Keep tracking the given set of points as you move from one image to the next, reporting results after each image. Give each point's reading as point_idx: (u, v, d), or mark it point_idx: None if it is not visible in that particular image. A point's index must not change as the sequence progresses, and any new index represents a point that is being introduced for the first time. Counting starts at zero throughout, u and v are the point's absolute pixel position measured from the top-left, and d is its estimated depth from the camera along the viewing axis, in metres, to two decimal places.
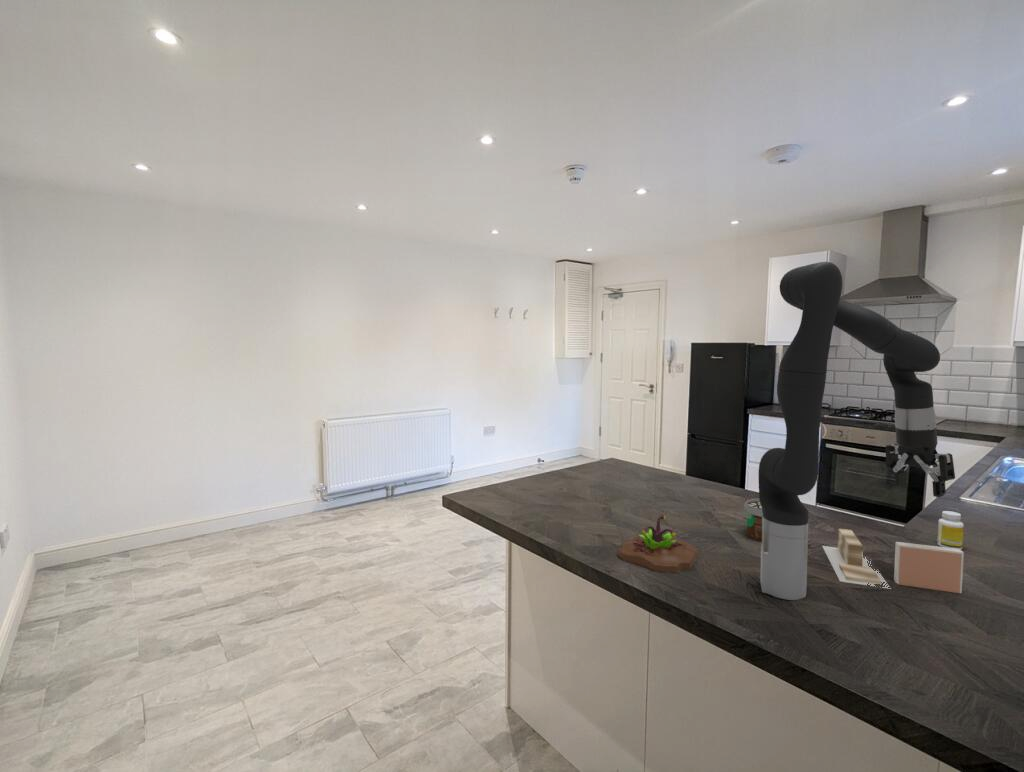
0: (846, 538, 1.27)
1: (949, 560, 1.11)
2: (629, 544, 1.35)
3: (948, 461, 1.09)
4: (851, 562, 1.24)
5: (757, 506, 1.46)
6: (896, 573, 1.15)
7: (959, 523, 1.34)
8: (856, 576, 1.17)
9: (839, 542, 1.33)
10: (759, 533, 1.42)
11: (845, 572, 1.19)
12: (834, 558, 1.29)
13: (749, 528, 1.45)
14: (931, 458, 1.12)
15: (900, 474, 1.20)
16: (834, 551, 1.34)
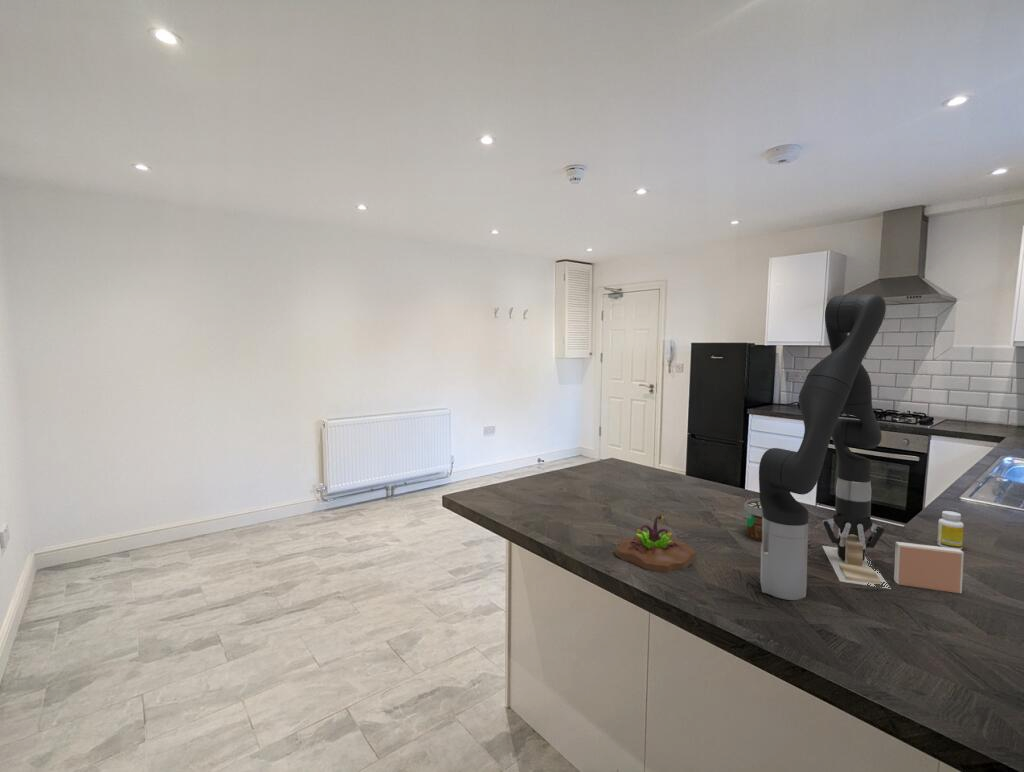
0: None
1: (949, 560, 1.11)
2: (626, 542, 1.36)
3: None
4: (851, 562, 1.24)
5: (757, 506, 1.46)
6: (896, 573, 1.15)
7: (959, 523, 1.34)
8: (856, 576, 1.17)
9: None
10: (759, 533, 1.42)
11: (845, 572, 1.19)
12: (834, 558, 1.29)
13: (749, 528, 1.45)
14: None
15: None
16: (834, 551, 1.34)
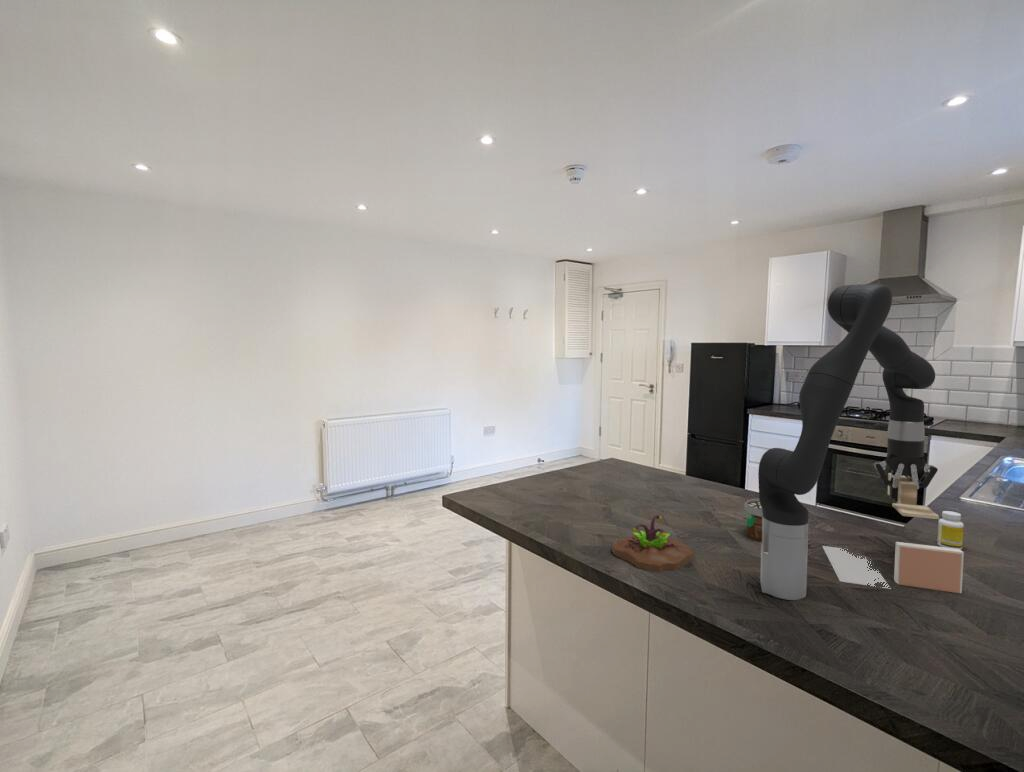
0: None
1: (949, 560, 1.11)
2: (624, 541, 1.37)
3: None
4: (905, 501, 1.25)
5: (757, 506, 1.46)
6: (896, 573, 1.15)
7: (959, 523, 1.34)
8: (913, 512, 1.19)
9: (889, 486, 1.35)
10: (759, 533, 1.42)
11: (901, 509, 1.21)
12: (834, 558, 1.29)
13: (749, 528, 1.45)
14: None
15: None
16: (834, 551, 1.34)
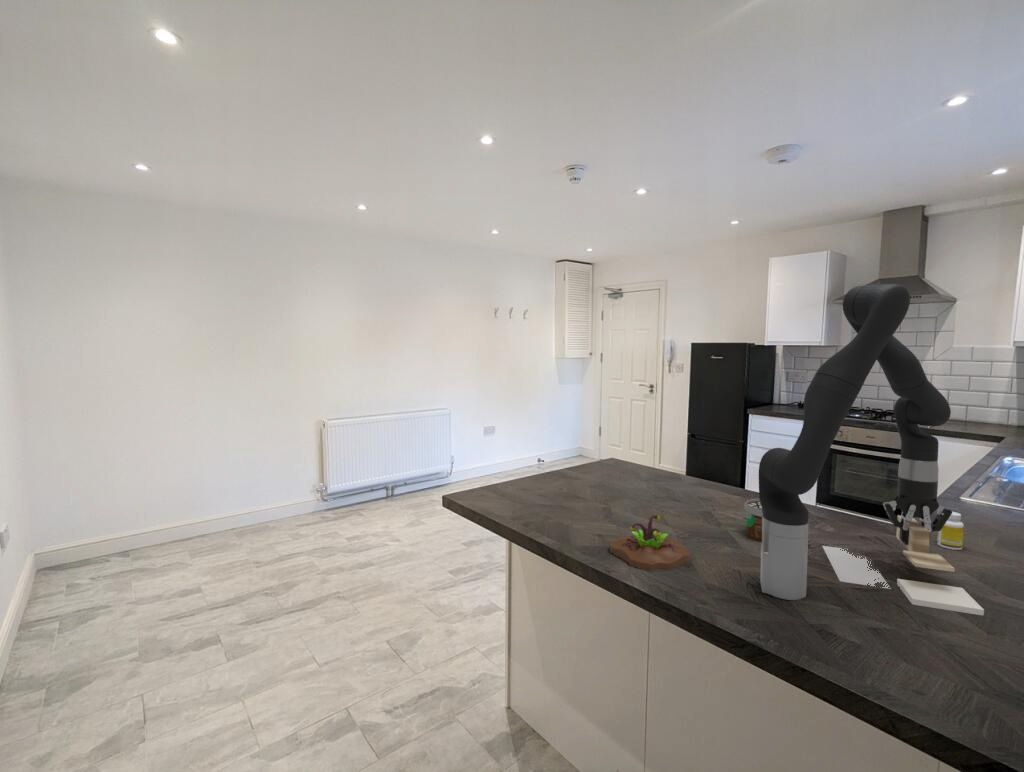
0: None
1: None
2: (622, 539, 1.39)
3: None
4: (917, 549, 1.17)
5: (757, 506, 1.46)
6: None
7: (959, 523, 1.34)
8: (926, 563, 1.10)
9: (898, 529, 1.26)
10: (759, 533, 1.42)
11: (913, 559, 1.12)
12: (834, 558, 1.29)
13: (749, 528, 1.45)
14: None
15: None
16: (834, 551, 1.34)
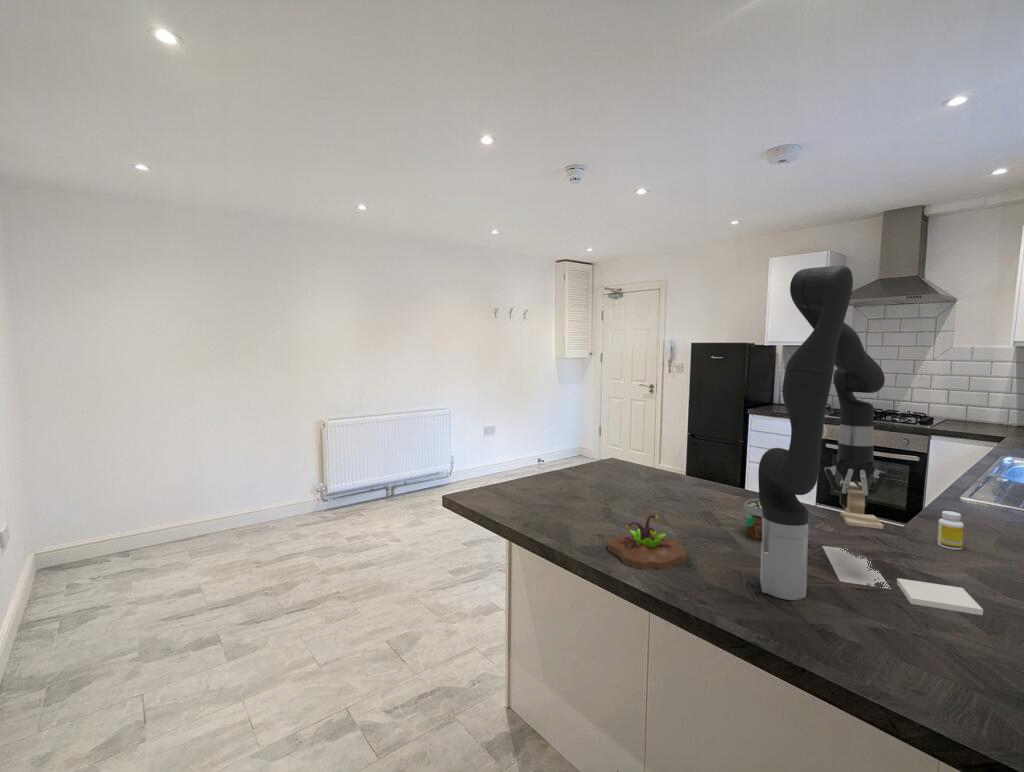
0: (848, 488, 1.26)
1: None
2: (621, 537, 1.40)
3: None
4: (853, 510, 1.23)
5: (757, 506, 1.46)
6: None
7: (959, 523, 1.34)
8: (858, 521, 1.16)
9: None
10: (759, 533, 1.42)
11: (847, 518, 1.18)
12: (834, 558, 1.29)
13: (749, 528, 1.45)
14: None
15: None
16: (834, 551, 1.34)
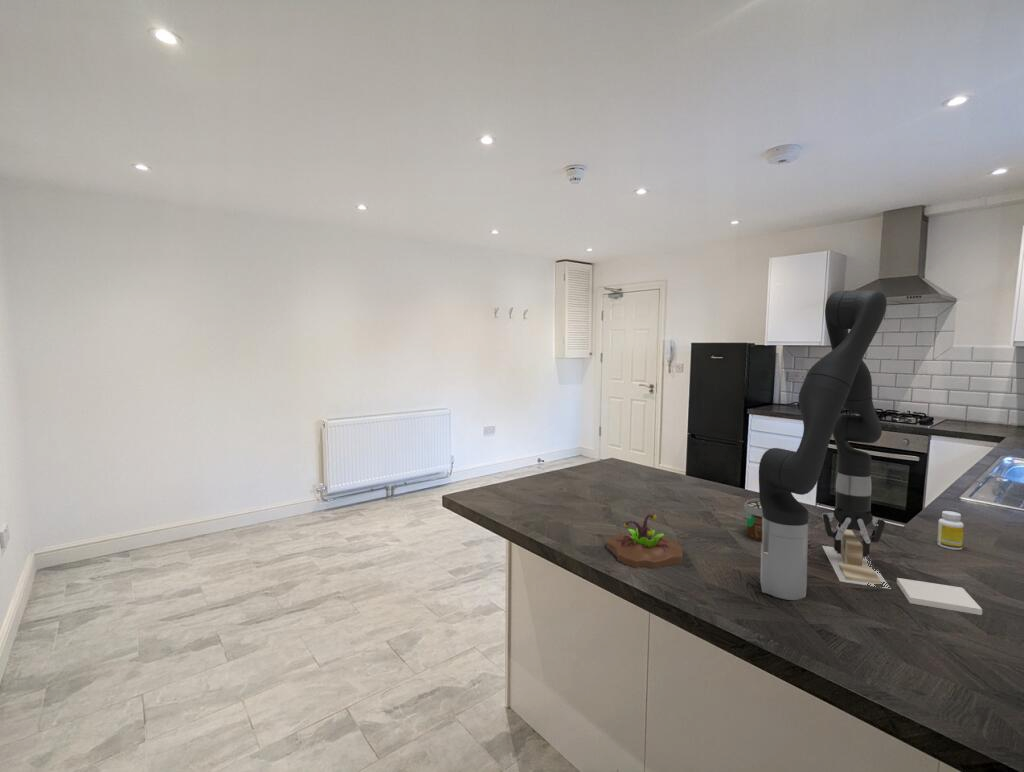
0: (846, 538, 1.27)
1: None
2: (620, 536, 1.41)
3: None
4: (851, 562, 1.24)
5: (756, 506, 1.46)
6: None
7: (959, 523, 1.34)
8: (856, 576, 1.17)
9: None
10: (759, 533, 1.42)
11: (845, 572, 1.19)
12: (834, 558, 1.29)
13: (749, 528, 1.45)
14: None
15: None
16: (834, 551, 1.34)
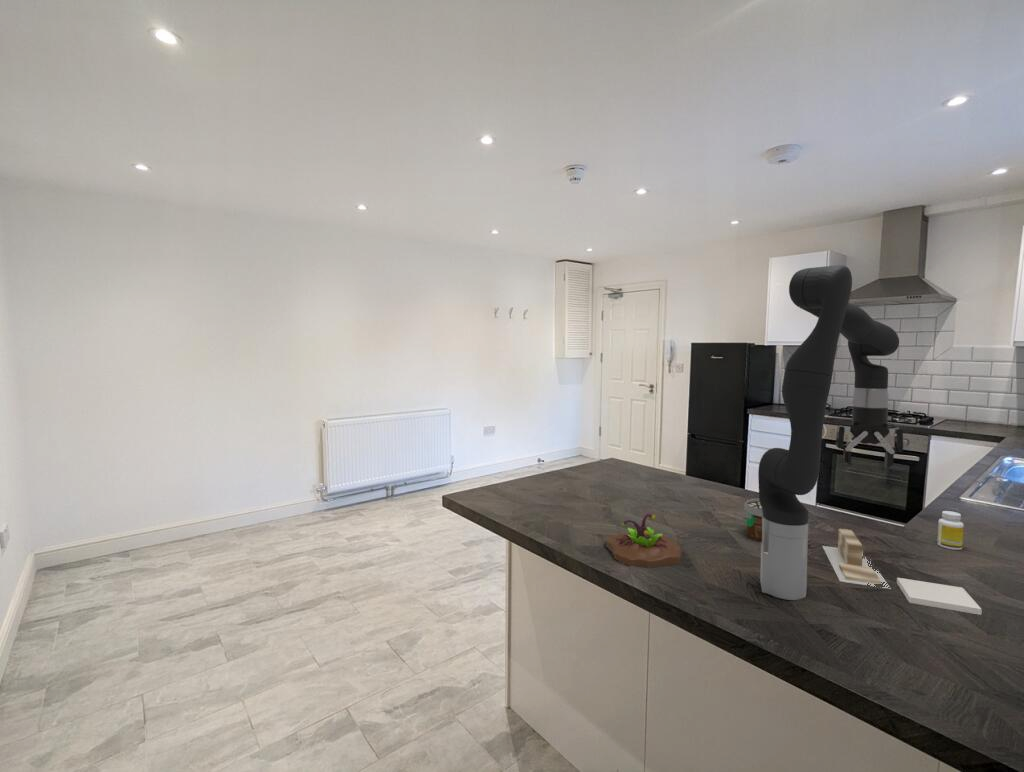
0: (846, 538, 1.27)
1: None
2: (620, 535, 1.42)
3: None
4: (851, 562, 1.24)
5: (757, 506, 1.46)
6: None
7: (959, 523, 1.34)
8: (856, 576, 1.17)
9: (839, 542, 1.33)
10: (759, 533, 1.42)
11: (845, 572, 1.19)
12: (834, 558, 1.29)
13: (749, 528, 1.45)
14: (888, 433, 1.25)
15: None
16: (834, 551, 1.34)
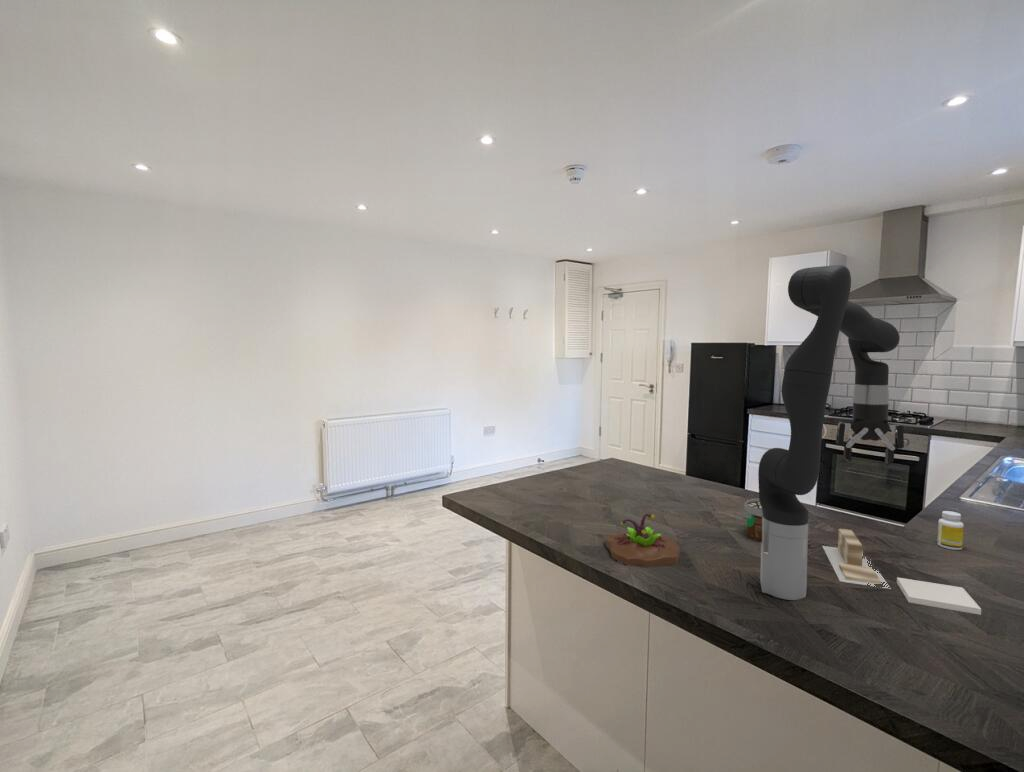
0: (846, 538, 1.27)
1: None
2: (620, 534, 1.43)
3: None
4: (851, 562, 1.24)
5: (757, 506, 1.46)
6: None
7: (959, 523, 1.34)
8: (856, 576, 1.17)
9: (839, 542, 1.33)
10: (759, 533, 1.42)
11: (845, 572, 1.19)
12: (834, 558, 1.29)
13: (749, 528, 1.45)
14: (888, 429, 1.25)
15: None
16: (834, 551, 1.34)
